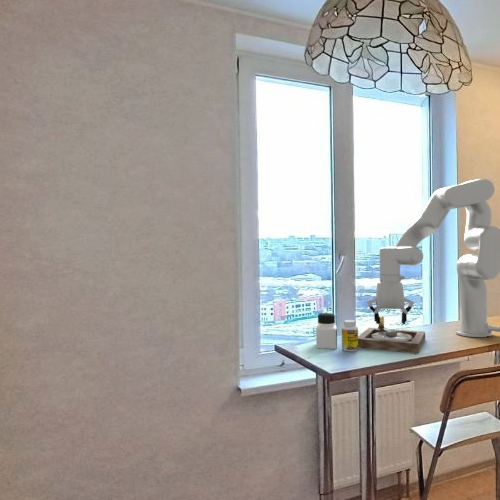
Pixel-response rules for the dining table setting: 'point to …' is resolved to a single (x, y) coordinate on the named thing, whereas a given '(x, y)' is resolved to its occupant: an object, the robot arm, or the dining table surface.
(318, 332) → the medicine bottle
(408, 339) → the dial
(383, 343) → the housing
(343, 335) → the supplement bottle
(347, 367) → the dining table surface
